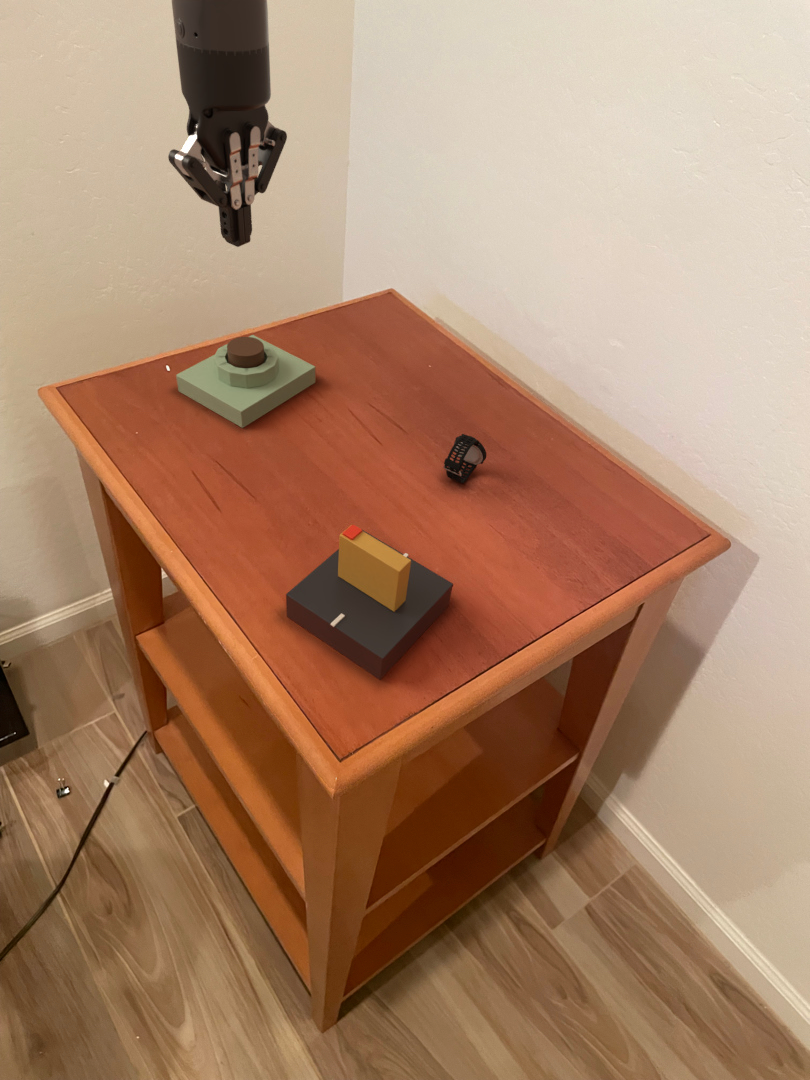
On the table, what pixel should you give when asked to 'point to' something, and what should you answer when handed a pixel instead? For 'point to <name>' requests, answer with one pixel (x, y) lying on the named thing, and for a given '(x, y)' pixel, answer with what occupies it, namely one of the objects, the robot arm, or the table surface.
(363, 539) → the lock knob
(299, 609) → the plate
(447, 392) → the table surface
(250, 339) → the bell button
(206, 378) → the doorbell
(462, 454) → the smartwatch
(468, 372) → the table surface
